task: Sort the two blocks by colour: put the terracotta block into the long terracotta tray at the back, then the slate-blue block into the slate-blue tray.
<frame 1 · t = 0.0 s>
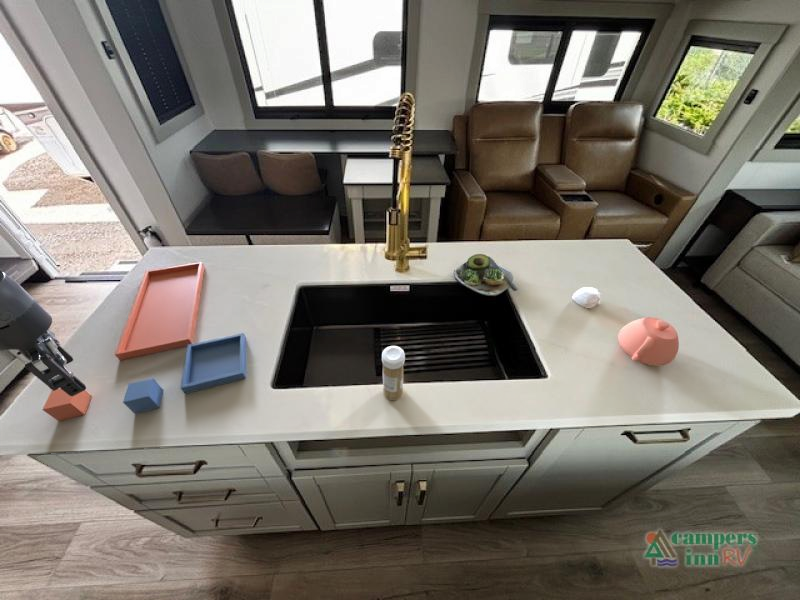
hand: (72, 376, 56), 15 cm above the worktop, tool pointing down, fingers open, 8 cm apart
slate-blue tray: (217, 363, 76), on the worktop
avocado toast plate: (482, 278, 103), on the worktop
sprinkles bottle: (392, 392, 72), on the worktop
slate-blue block: (149, 401, 69), on the worktop
garlic: (585, 301, 96), on the worktop
terracotta tray: (168, 306, 90), on the worktop
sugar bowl: (638, 353, 82), on the worktop
terracotta block: (75, 408, 67), on the worktop
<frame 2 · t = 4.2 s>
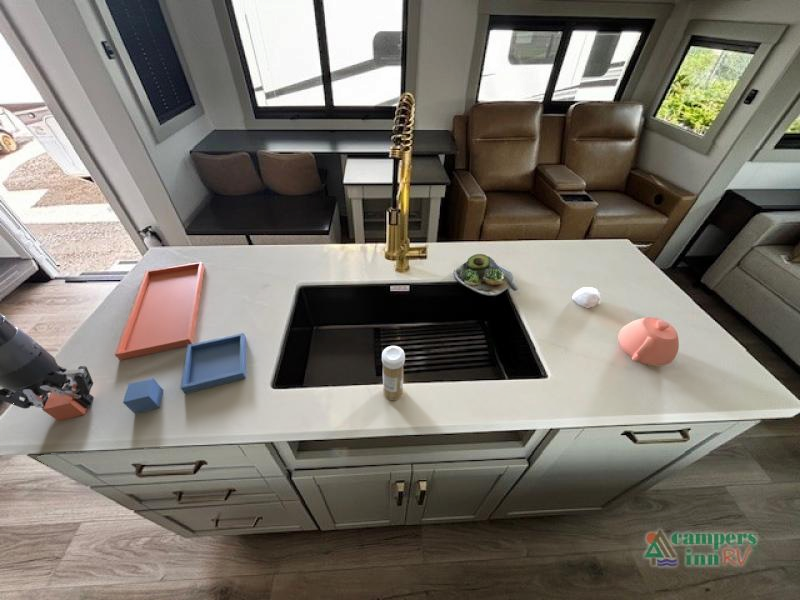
hand: (74, 407, 67), 0 cm above the worktop, tool pointing down, fingers closed on terracotta block, 4 cm apart
terracotta block: (75, 408, 67), on the worktop, touching gripper
everything else where it was.
when the fingers open (1 cm above the worktop, at t = 10.9 s): terracotta block stays where it is, resting on terracotta tray.
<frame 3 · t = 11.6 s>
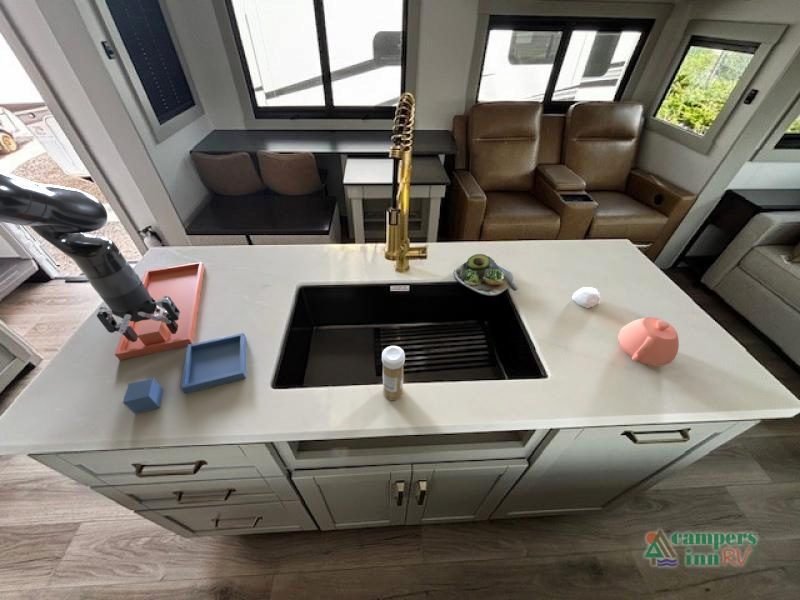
hand: (155, 335, 80), 2 cm above the worktop, tool pointing down, fingers open, 8 cm apart
terracotta block: (158, 339, 81), point 1 cm above the worktop, touching terracotta tray
everything else where it was.
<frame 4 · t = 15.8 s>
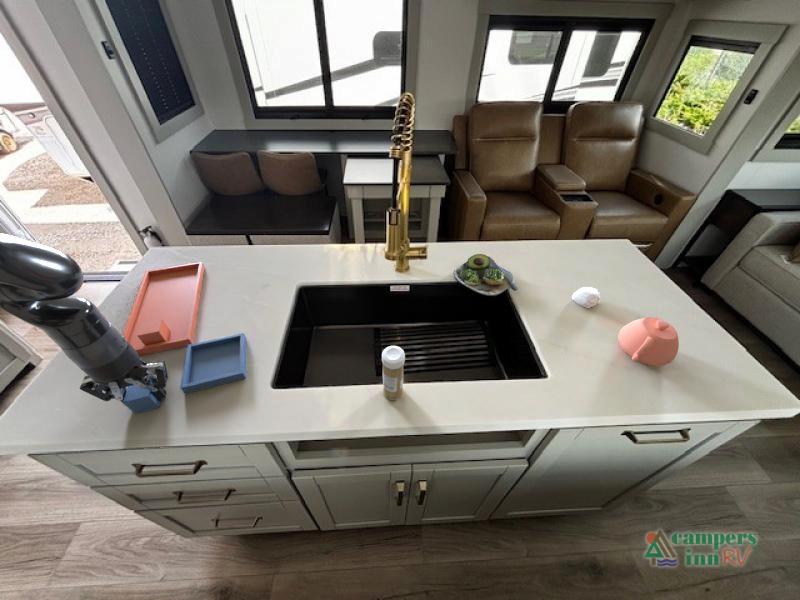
hand: (148, 400, 69), 0 cm above the worktop, tool pointing down, fingers closed on slate-blue block, 4 cm apart
slate-blue block: (149, 401, 69), on the worktop, touching gripper
everything else where it was.
when the fingers open (1 cm above the worktop, at t = 22.4 s): slate-blue block stays where it is, resting on slate-blue tray.
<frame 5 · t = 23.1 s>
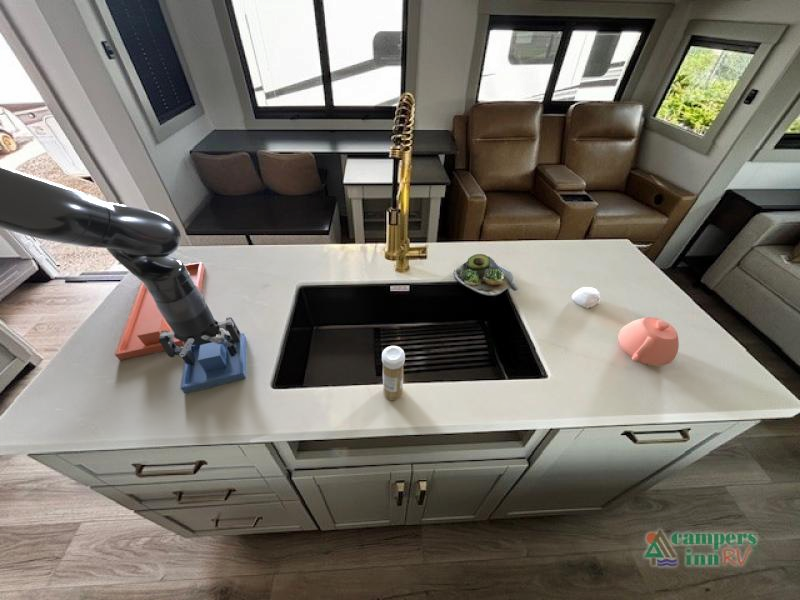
hand: (213, 358, 75), 2 cm above the worktop, tool pointing down, fingers open, 8 cm apart
slate-blue block: (216, 362, 76), point 1 cm above the worktop, touching slate-blue tray
everything else where it was.
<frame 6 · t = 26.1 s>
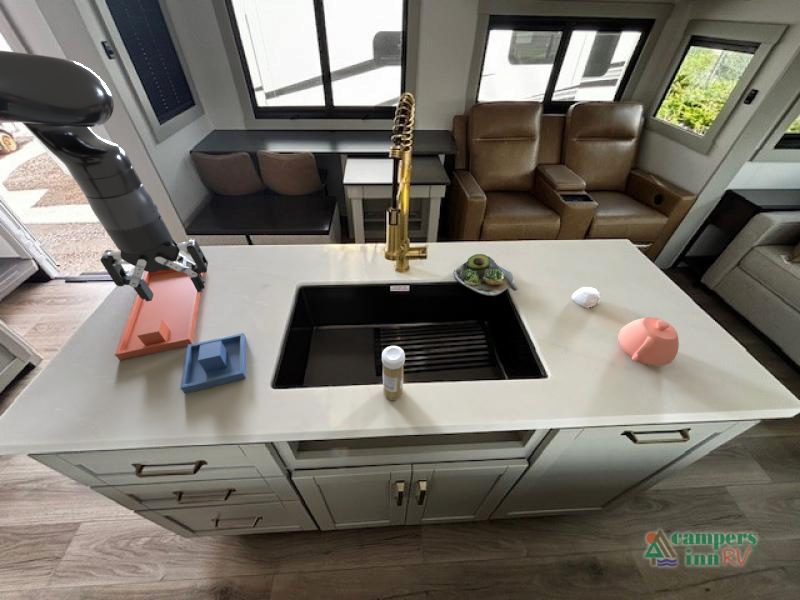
hand: (176, 293, 61), 22 cm above the worktop, tool pointing down, fingers open, 8 cm apart
nothing on the worktop moved.
at the end: terracotta block inside the target area in the terracotta tray (13.0 cm from its centre), point 0.6 cm above the terracotta tray's base; slate-blue block inside the target area in the slate-blue tray (0.0 cm from its centre), point 0.6 cm above the slate-blue tray's base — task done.
